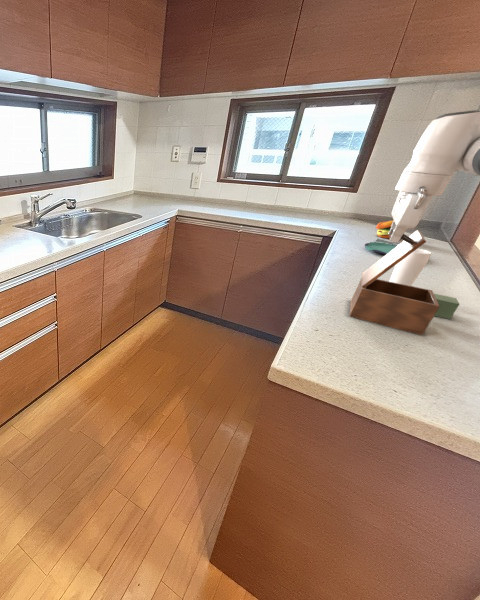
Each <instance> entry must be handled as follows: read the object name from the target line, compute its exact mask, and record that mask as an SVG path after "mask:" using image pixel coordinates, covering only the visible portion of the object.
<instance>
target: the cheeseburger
mask: <svg viewBox="0 0 480 600" xmlns="http://www.w3.org/2000/svg"><path fill="white" fill-rule="evenodd" d="M393 221H394V219H393V220H388V221H380V222H379V223H377V225H376V226H375V229H377V232H376V236H377V237H379V238H380V239H390V237H391V236H389V235H388V233H389V231H390V229H391V226H392V223H393Z"/></svg>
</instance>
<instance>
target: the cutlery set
mask: <svg viewBox="0 0 480 600" xmlns="http://www.w3.org/2000/svg"><path fill="white" fill-rule="evenodd" d="M400 243H401V242H400V241H399V242H391V241H390V240H389V241H388V240H385V239H382V238H376V239H375V241H370V242H366V243H364V247H365V250H367V251H370V252H375V253H378V254H382V255H386V254H388V253H389V252H390V251H391V250H393V249H394V248H395V247H396V246H398V245H399V244H400Z"/></svg>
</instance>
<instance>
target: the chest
mask: <svg viewBox="0 0 480 600" xmlns="http://www.w3.org/2000/svg"><path fill="white" fill-rule="evenodd" d="M389 281H390V280H384V279H379V278H377V279H376V280H375V281H373V282H372V283H371V284H369V285H368V286H367V287H365V288H363V287H362V277H361V278H360V280H359V282H358V284H357V286H356V288H355V291H354V293H353V295H352V297H351V299H350V306H349V317H350V318H354V319H358V320H363V321H366V322H370V323H374V324H377V325H382V326H385V327H389V328H392V329H397V330H400V331H404V332H408V333H412V334H415V335H418V336H423V335H424V333H425V332H426V330H427V328H428V327H429V324H430V323H431V322H432V320H433V319H434V317H435V316H434V315H435V313H436V312H437V310H438V308H439V307H440V306H439V304H438V302H437V300H436V298H435V295H434V294H435V293H434V291H433V289H428V288H423V287H418V286H413V285H412V286H409V285H404V284H399V283H394V282H389Z"/></svg>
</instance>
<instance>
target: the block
mask: <svg viewBox="0 0 480 600" xmlns="http://www.w3.org/2000/svg"><path fill="white" fill-rule="evenodd" d="M434 295H435V298H436V300H437V302H438V304H439V306H440V307H439V308H438V310H437V312H436V313H435V315H434V317H439V318H443V319H448V320H451V319H452V317H453V316H454V314H455V312H456V311H457V309H458V307H459V306H460V302H459V300H458V299H457V298H456V297H452V296H447V295H444V294H443V295H442V294H437V293H434Z"/></svg>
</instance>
